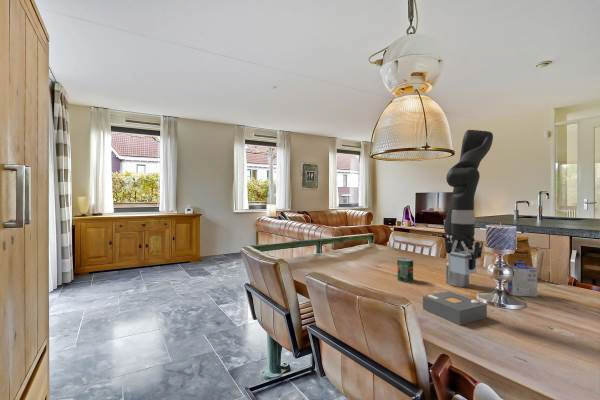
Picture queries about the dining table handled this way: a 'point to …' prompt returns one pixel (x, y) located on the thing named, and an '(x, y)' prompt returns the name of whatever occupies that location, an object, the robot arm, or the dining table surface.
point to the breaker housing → (455, 308)
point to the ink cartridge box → (523, 280)
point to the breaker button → (453, 300)
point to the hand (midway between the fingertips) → (462, 267)
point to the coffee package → (520, 253)
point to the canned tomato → (405, 269)
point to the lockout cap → (460, 263)
